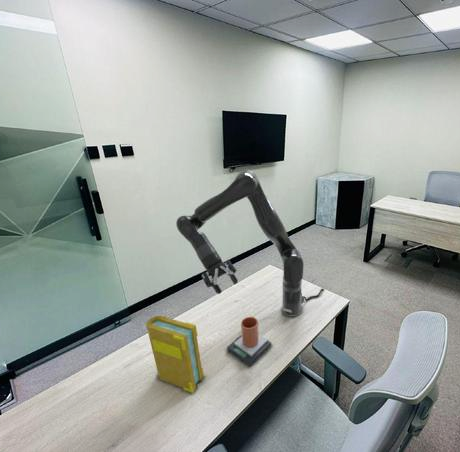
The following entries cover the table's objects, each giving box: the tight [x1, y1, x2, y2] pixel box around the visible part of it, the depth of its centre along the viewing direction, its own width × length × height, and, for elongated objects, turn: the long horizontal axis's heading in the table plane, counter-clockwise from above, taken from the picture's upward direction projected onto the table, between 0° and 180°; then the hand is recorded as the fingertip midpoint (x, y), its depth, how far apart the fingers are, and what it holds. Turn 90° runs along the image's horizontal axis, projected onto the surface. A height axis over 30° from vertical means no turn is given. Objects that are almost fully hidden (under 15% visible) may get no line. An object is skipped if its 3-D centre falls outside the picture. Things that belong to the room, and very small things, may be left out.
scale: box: [226, 333, 272, 367], centre depth 112 cm, size 13×13×3 cm
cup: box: [240, 316, 259, 348], centre depth 110 cm, size 7×7×10 cm
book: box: [145, 315, 205, 394], centre depth 95 cm, size 17×7×25 cm, turn 71°
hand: (228, 288), depth 110 cm, fingers open, 8 cm apart
